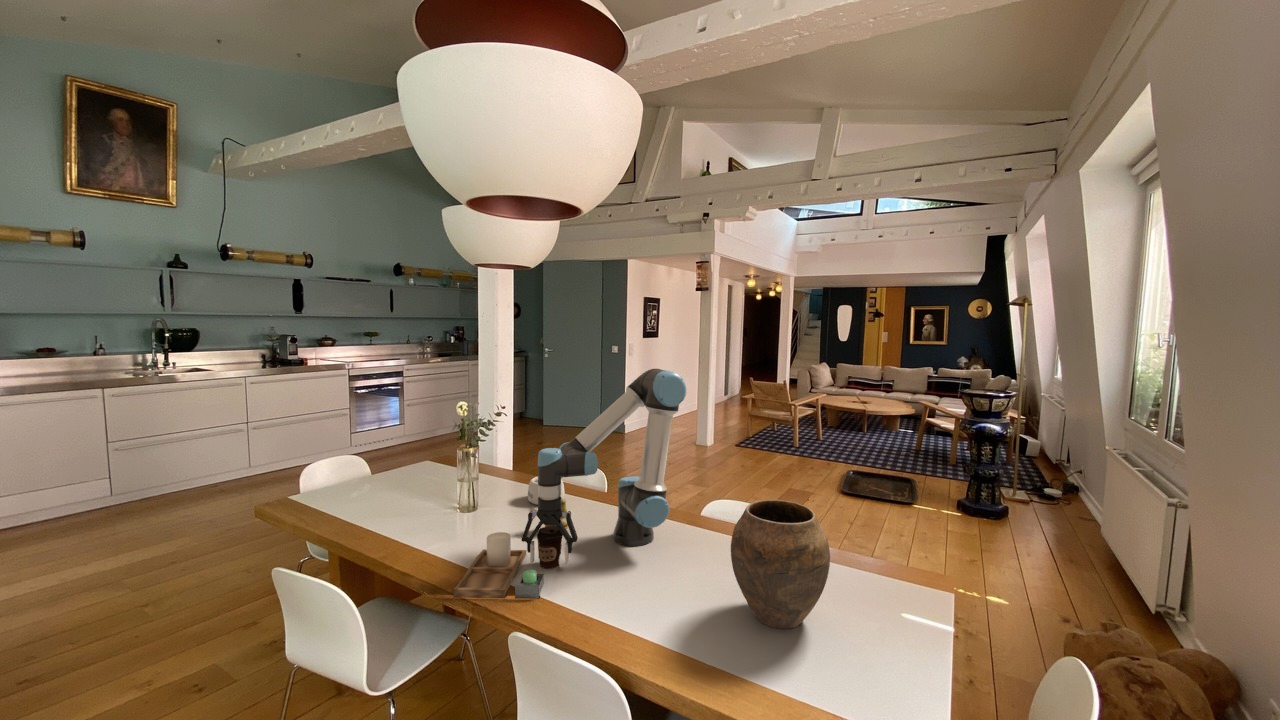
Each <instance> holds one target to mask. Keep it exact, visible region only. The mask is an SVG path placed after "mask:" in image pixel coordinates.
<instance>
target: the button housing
mask: <svg viewBox="0 0 1280 720" xmlns="http://www.w3.org/2000/svg"><path fill="white" fill-rule="evenodd" d="M544 584H545V574H544V573H537V582H536V583H523V573H521V574H520V575H519V576H518V578H517V580H516V583H515V585H514V589H515V590H514V594H515V595H514V598H515V599H521V600H522V599H525V600H528V599H529V600H534V599H535V600H540V598H541V595H540V594H541V592H542V589H543V587H544Z"/></svg>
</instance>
